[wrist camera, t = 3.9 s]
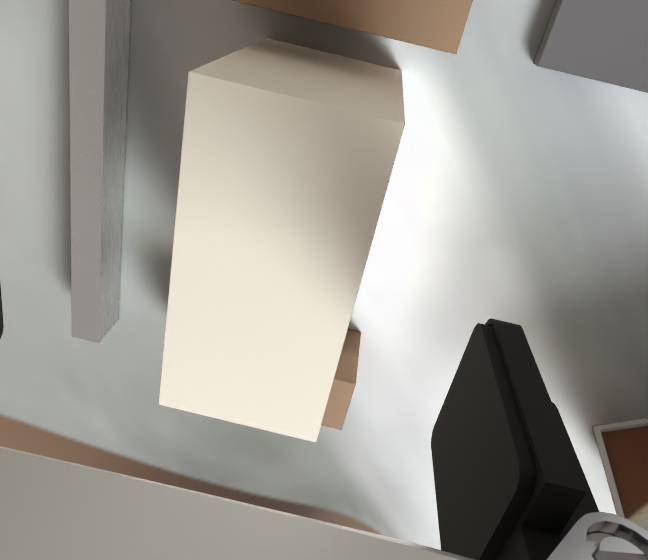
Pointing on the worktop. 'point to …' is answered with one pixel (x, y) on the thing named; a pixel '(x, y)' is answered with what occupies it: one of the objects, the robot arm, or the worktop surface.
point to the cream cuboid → (274, 229)
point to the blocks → (110, 137)
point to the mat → (598, 41)
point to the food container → (626, 467)
